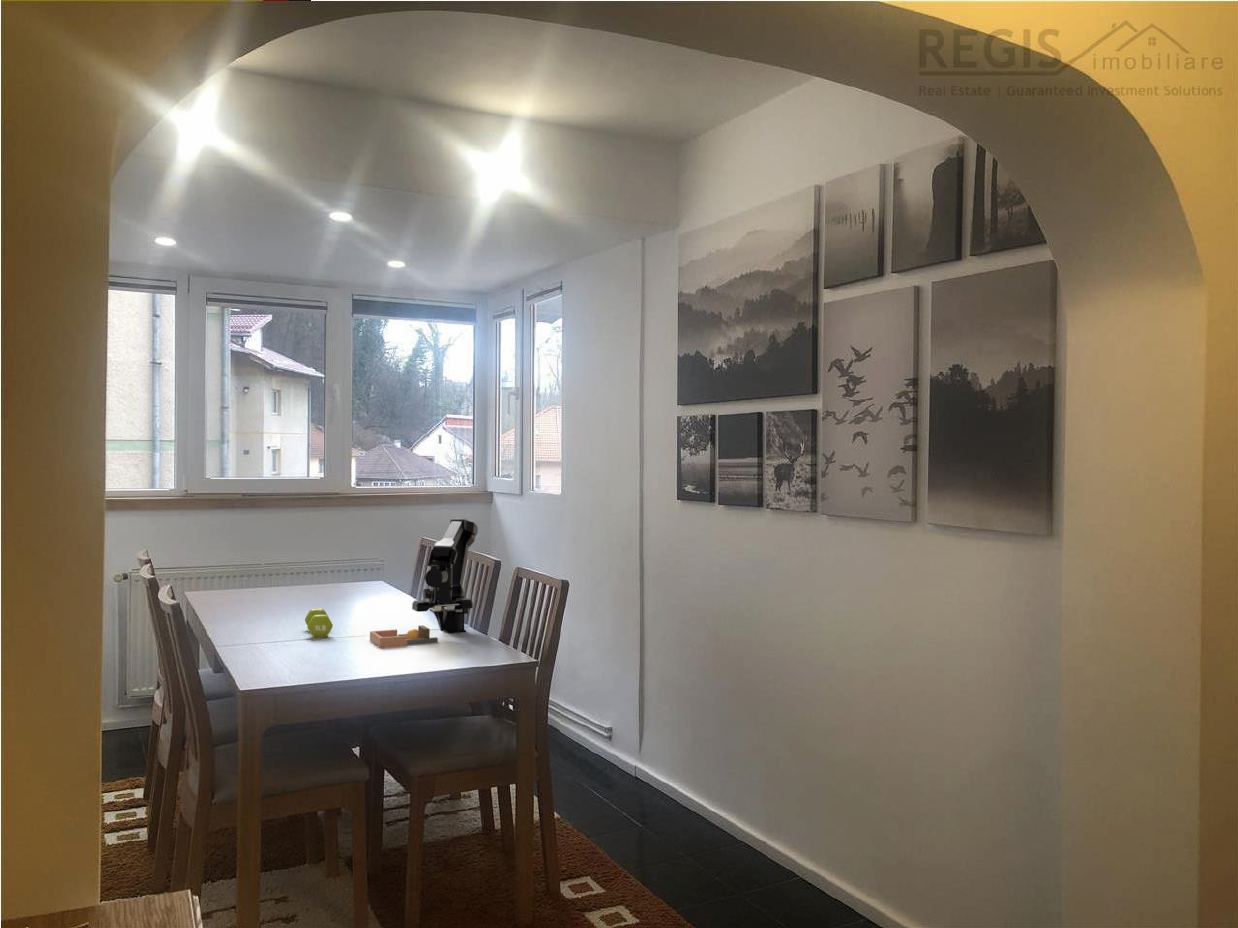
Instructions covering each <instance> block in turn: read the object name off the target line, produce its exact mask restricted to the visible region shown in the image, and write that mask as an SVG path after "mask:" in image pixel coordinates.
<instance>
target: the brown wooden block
mask: <svg viewBox="0 0 1238 928" xmlns="http://www.w3.org/2000/svg"><path fill="white" fill-rule="evenodd" d="M417 630H418V631H419V634H420V636H419V638H418V639H420V638H431V637H430V634H431V633H430V632H431V631H430V630H431V628H428V627H427V626H425V625H418V629H417Z"/></svg>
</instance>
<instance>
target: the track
mask: <svg viewBox="0 0 1238 928" xmlns="http://www.w3.org/2000/svg"><path fill="white" fill-rule="evenodd" d="M397 636H407V633H403V634H402V633H401V634H399V633H398V634H397ZM438 642H439V638H438V637H437V636H435V637H430V638H420V639H419V638H418V639H408V638H407V646H410V645H421V644H422V645H423V644H434V643H435V644H437V643H438Z"/></svg>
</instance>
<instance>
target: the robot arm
mask: <svg viewBox="0 0 1238 928" xmlns="http://www.w3.org/2000/svg"><path fill="white" fill-rule="evenodd" d="M478 531H479V528H478V525H477V524H476V523H475V522H474V521H470V520H468V519H467V518H462V517H461V518H460V517H459V518H458V517H453V518H451V519H450V523H449V526H448V527H447V530H446V532H445V534H444V536H443V537H442V539H441V540H438V541H436V542H435V544H433V546H432V548H431V549H430V553H429V559H428V562H427V567H430V568H431V569H430V570H428V571H427V572H426V574H425V576H424V582H425V583H426V584H427V586H429V587H430V588H424V589H423V590H422V591H423V593H422V596H423V597H422V598H423V599H420V600H413V602H412V604H411V605H412V606H411V609H412V610H413V611H415V612H419V613H421V612H428V611H430V612H431V613H432V614H434V617H435V618H436V621H437V624H438V627H439V629H440V631H441V632H446V633H448V634H452V633H465V632H467V630H466V629H465V616H466V615H468V614H469V612H470V609H473V607H474V606H473V605H474V603H473V602H474V601H473V600H472V599H470V598H468V597H467V595H466V591H465V590H464V588H463V585H464V578H465V572H466V565H467V559H468V553H469V548H470V547H471V546H472V545H473V544H474V542H475V541H476V536H478V535H477V534H478ZM431 588H432V590H431ZM427 600H428V601H427Z"/></svg>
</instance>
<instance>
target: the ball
mask: <svg viewBox="0 0 1238 928" xmlns="http://www.w3.org/2000/svg"><path fill="white" fill-rule="evenodd" d="M406 634H407V638H408V639H419V636H420V634H419V631H418V629H417V628H411V629H409V630H408V631H407V632H406ZM408 639H407V640H408Z"/></svg>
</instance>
